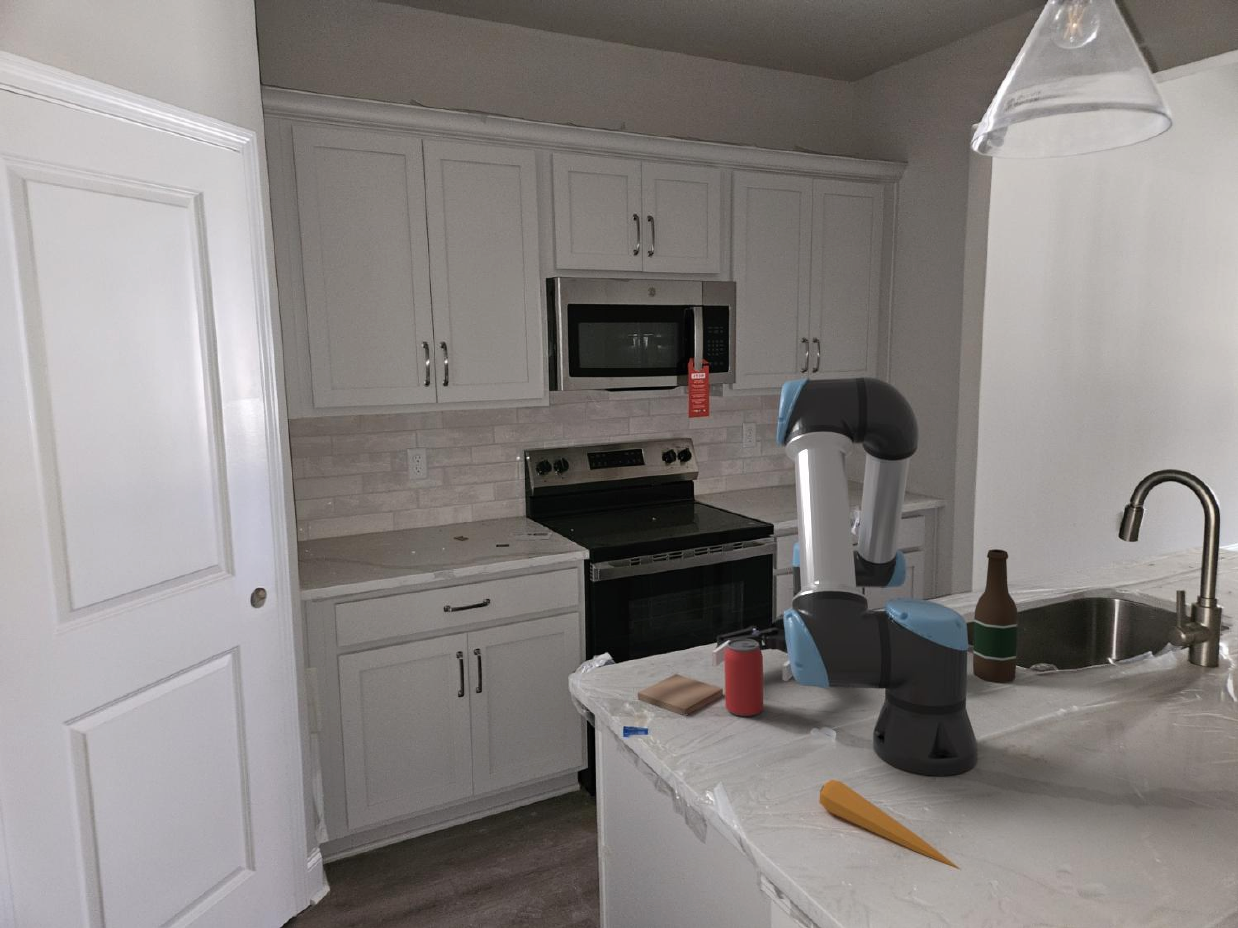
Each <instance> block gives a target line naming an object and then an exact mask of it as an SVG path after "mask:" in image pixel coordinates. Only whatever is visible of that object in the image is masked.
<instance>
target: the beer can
mask: <svg viewBox="0 0 1238 928" xmlns="http://www.w3.org/2000/svg"><path fill="white" fill-rule="evenodd" d="M759 646H760V645H759V643H758V642H757V641H755V640H751V639H734V640H731V641H729V642H728V643H727V649H726V651H725V656H724V658H725V660H724V688H725V689H724V691H725V692H724V693H725V694H724V698H725V699H724V701H725V703H724V704H725V708H726V710H727V711H728V712H729V713H731V714H732V713H733V714H732V715H736V716H738V715H740V717H751V716H750V715H753V716H755V714H756V715H759V714H760V713H761V712H762V711H763V709H764V660H763V659H764V656H763V653H762V650H760V647H759Z"/></svg>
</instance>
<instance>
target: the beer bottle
mask: <svg viewBox="0 0 1238 928" xmlns="http://www.w3.org/2000/svg"><path fill="white" fill-rule="evenodd" d="M986 558H987V560H988V562H987V571H986V583H985V589H984V592H983V593H982V594H981V595H980V597H979V598H978V601H977V603H976V606H975V609H974V616H973V617H974V618H973V619H974V620H973V651H972V652H973V655H972V656H973V657H972V661H973V662H972V669H973V670H972V671H973V675H974V676H975V677H977V678H978V679H980V680H982V681H985V682H989V683H998V684H1006V683H1010V682H1014V681H1015V680H1016V672H1017V653H1018V652H1017V651H1018V622H1019V620H1018V608H1017V605H1016V602H1015V601H1014V599H1013V597H1012V596H1011V594H1010V593H1009V587H1008V586H1009V585H1008V567H1007V565H1008V564H1007V563H1008V562H1007V561H1008V559H1009V554H1008V551H1006V550H1003V549H995V548H994V549H989V550H988V551H987V555H986Z"/></svg>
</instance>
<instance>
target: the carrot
mask: <svg viewBox="0 0 1238 928" xmlns="http://www.w3.org/2000/svg"><path fill="white" fill-rule="evenodd" d="M818 803H819V804H821V805H822V807H823V808H824V809H826V810H827V811H828V812H829V813H830V814H832V815H834V816H836V817H839V818H840V819H842V820H845V821H848V822H849V823H852V824H854V825H856V826H859V827H861V828H863V829H865V830H867V831H869V832H872V833H874V834H876V835H878V836H880V837H883V838H885V839H887V840H890V841H892V842H894V843H896V844H898V845H901V846H903V847H904V848H907V849H909V850H911V851H914V852H916V853H918V854H921V855H923V856H926V857H928V858H931V859H934V860H936V861H939V862H940V863H943V864H946V865H948V866H950V867H953V868H956V869H959V870H961V871H962V868H960V867H959V866H958V865H956V864H955V863H954V862H953V861H951V860H950V859H949V858H947V857H946V856H944V854H942V853H940V851H938V850H937V849H935V848H934V847H933V846H932V845H931V844H929V843H927V842H926V841H925V840H924V839H923V838H921V837H920V836H919V835H917V834H915V832H913V831H911V830H910V829H908V827H906V826H904V825H903V824H901V823H900V822H898V821H897V819H895V818H893V817H892V816H890V815H889V814H887V813H886V812H885V811H883V810H882V809H880V808H879V807H877V806H876V805H875V804H874V803H872V802H871V801H870V800H868V799H866V798H865V797H863V796H862V795H860V794H859V793H857V792H856V791H854V790H853V789H852V788H851V787H849V786H848V785H846V784H845V783H844V782H842V781H839V780H836V779H830V780H829V781H827V782H826V783H824V785H822V787H821V789H820V791H819V801H818Z"/></svg>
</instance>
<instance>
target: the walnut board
mask: <svg viewBox="0 0 1238 928" xmlns="http://www.w3.org/2000/svg"><path fill="white" fill-rule="evenodd" d="M721 695H722V696H723V695H724V689H723V688H722V687H720V686H719V687H718V686H716V685H713V684H709V683H706V682H703V681H699V680H696V679H693V678H691V677H687V676H684V675H681V674H678V673H675V674H672V675H671V676H669V677H666V678H665V679H663V680H661V681H659V682H657V683H655V684H653V685H651V686H648V687H646V688H645V689H642V690H640V691H638V692H637V699H638V700H640V701H643V702H645V703H649V704H651V705H654V706H656V705H658V706H657V707H659V706H660V707H659V708H662V709H665V710H667V709H668V711H670V710H671V712H673V711H674V712H673V713H676V714H679V715H681V714H683V715H682V716H684V715H686V714H687V715H689V714H692V713H693V712H694V711H693V710H695V709H696V710H699V709H700V708H702V707H704V706H705V705H707V704H709V703H711V702H713V701H714V700H716V699H718V698H720V697H722V696H721ZM719 696H720V697H719ZM712 700H713V701H712ZM703 705H704V706H703ZM696 710H695V711H696ZM692 711H693V712H692ZM687 715H686V716H687Z"/></svg>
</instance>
